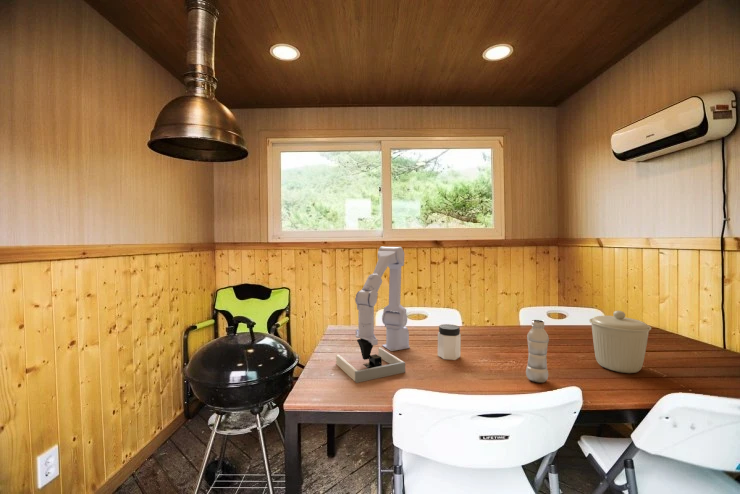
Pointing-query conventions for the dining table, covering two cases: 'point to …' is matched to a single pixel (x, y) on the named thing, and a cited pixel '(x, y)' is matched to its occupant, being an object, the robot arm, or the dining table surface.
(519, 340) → the dining table surface
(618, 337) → the canister
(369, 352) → the robot arm
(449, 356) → the jar
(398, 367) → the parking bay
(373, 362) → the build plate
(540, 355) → the plastic bottle
